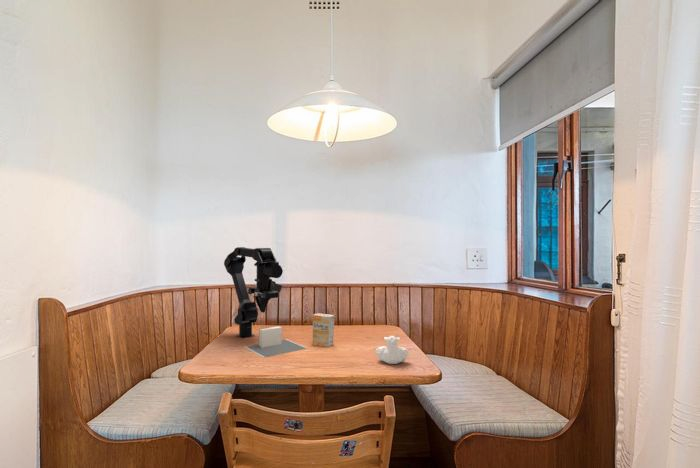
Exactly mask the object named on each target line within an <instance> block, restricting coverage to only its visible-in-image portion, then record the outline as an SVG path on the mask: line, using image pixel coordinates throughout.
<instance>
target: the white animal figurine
mask: <svg viewBox="0 0 700 468" xmlns="http://www.w3.org/2000/svg"><path fill="white" fill-rule="evenodd" d="M383 339H384V341H385V342H386V343H385V345H387V346H385V345H383V346H378V347H377V348H376V349H375V352H376V356H377V358H378V360H380V361H382V362H384V363H386V364H390V365H397V364H399V363H401V362H405V361H406V360H407V358H408V355H409V350H408V349H407V348H406V347H403V346H398V345H399V344H398V342H400V340H401V337H395V335H389V336H388V337H387V336H384V337H383Z"/></svg>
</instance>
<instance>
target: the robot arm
mask: <svg viewBox="0 0 700 468" xmlns="http://www.w3.org/2000/svg"><path fill="white" fill-rule="evenodd" d="M246 257H247V258H251V259H253V260H254V261H256V262H255V263H254V264H253V265H254V266H255V267H256V278H254V282H256V286H253V287H252V286H251V287H249V288H247V285H246V282H245V278H244V274H243V271H244V269H245V265H244V264H245V262H246V260H247V259H246ZM223 265H224V268H225V270H226V272H227V273H228V274H229V275H230V276H231V277H232V282H233V285H234V290H235V293H236V296H237V300H238V307H237V314H236V316H235V318H234V324H236V325H238V326H239V327H238V330H239V331H238V334H236V337H238V338H240V339H246V338H252V337H256V335H255V334H253V323H257V321H258V315H259V311H258V310H260V312H261V313H265V312H266V310H267V306H268V304H269V301H270V300H271V299H276V298H277V299H278V298H280V293H281V291H282V288H283V285H281V284H279V283H276V281H273V279H279V278H280V277H282V275H283V271H284V269H283V267H282V266H281V265H280V263H279V261H277V258H276V256H275V254H274V253H273V251H272V248H270V247H256V248H249V247H244V246H243V247H242V246H240V247H239V246H238V247H235V248H234V250H233V251H231V252H230V253H229V254H227V256H226V257H225V259H224V262H223ZM252 294H254V295H253V296H252V297H253V298H254V300H255V301H252V300H251V299H250V296H249V295H252ZM257 306H258V307H257Z"/></svg>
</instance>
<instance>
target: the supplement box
mask: <svg viewBox="0 0 700 468" xmlns="http://www.w3.org/2000/svg"><path fill="white" fill-rule="evenodd" d="M311 340H312V342H311V343H312V344H311V345H313V346H318V347H319V346H320V347H326V348H330V347H333V346H334V345H335V341H334V340H335V314H327V313H320V312H318V313H314V314H313V315H312V339H311Z"/></svg>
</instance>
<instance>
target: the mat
mask: <svg viewBox="0 0 700 468" xmlns="http://www.w3.org/2000/svg"><path fill="white" fill-rule="evenodd" d="M244 348H245V349H246V350H249V351H250V352H252V353H254V354H255V355H257V356H259V357H261V358H263V359H264V358H269V357H273V356H279V355H283V354H287V353H292V352H293V353H294V352H297V351H302V350H303V351H304V350H308V349H309V347H306V346H304V345H303V344H299V343H296V342H294V341H292V340H291V339H287V338H286V339H285V338H284V339H282V344H279V345H273V346H268V347H263V348H262V347H260V346H259V343H257V344H253V345H246V346H244Z"/></svg>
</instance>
